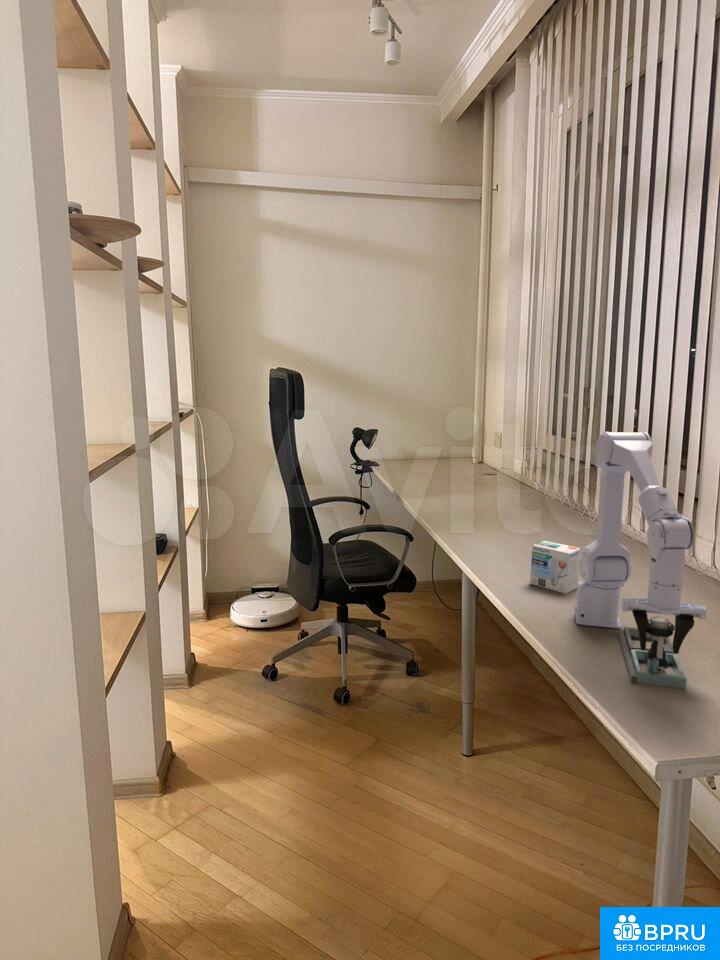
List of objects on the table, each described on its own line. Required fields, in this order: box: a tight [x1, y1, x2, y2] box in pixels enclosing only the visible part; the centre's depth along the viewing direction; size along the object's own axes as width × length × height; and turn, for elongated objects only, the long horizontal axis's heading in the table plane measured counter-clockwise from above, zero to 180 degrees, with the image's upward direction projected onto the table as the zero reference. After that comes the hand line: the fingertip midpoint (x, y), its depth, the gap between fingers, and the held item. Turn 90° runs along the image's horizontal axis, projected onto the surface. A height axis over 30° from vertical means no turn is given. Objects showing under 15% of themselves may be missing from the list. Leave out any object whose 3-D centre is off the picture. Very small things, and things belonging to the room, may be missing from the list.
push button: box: [646, 616, 675, 674], centre depth 134 cm, size 7×5×10 cm
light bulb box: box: [529, 540, 582, 595], centre depth 181 cm, size 11×7×11 cm, turn 47°
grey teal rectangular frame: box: [618, 626, 688, 690], centre depth 139 cm, size 9×22×2 cm, turn 166°
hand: (658, 649), depth 133 cm, fingers closed on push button, 5 cm apart
